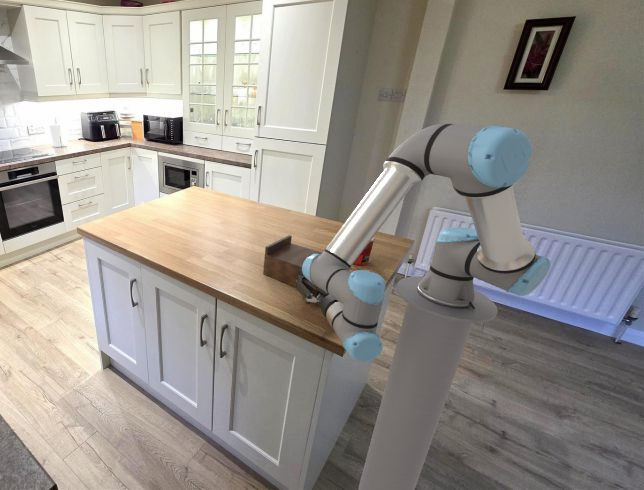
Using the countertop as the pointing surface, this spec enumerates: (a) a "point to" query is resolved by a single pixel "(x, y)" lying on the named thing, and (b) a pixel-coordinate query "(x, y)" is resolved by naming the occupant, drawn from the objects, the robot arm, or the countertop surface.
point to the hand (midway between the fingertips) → (311, 272)
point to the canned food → (364, 254)
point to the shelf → (285, 260)
